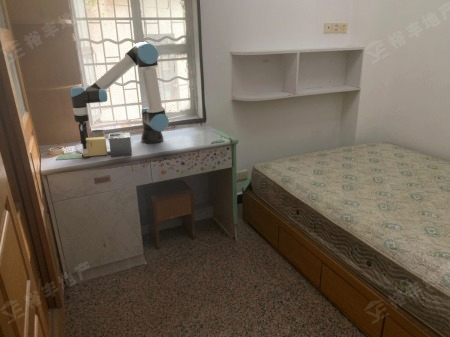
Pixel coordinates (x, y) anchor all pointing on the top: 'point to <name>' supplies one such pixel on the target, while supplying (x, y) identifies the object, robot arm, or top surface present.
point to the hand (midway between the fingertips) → (86, 152)
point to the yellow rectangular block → (96, 146)
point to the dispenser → (120, 144)
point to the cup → (97, 133)
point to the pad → (69, 156)
